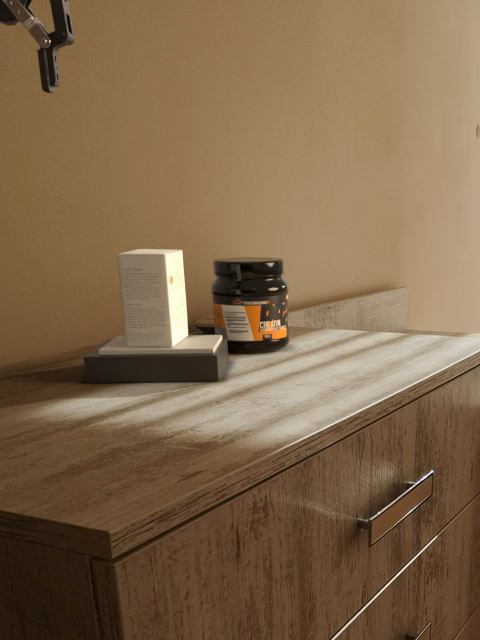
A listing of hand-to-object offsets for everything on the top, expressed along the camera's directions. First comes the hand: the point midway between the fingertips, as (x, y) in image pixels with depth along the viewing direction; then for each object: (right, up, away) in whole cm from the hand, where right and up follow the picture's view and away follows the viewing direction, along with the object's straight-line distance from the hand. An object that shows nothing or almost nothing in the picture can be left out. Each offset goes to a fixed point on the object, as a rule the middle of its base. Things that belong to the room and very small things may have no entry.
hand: (5, 91), depth 83 cm
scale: (+11, -26, +17) cm, 33 cm away
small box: (+11, -23, +16) cm, 30 cm away
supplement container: (+20, -20, +33) cm, 43 cm away
